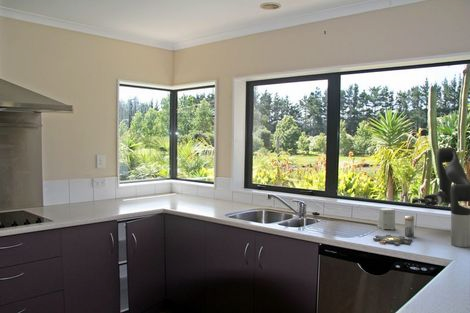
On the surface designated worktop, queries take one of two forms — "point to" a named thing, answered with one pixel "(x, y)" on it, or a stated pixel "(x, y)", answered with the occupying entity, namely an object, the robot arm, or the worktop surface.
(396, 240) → the sprocket plate
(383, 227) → the small box
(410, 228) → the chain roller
